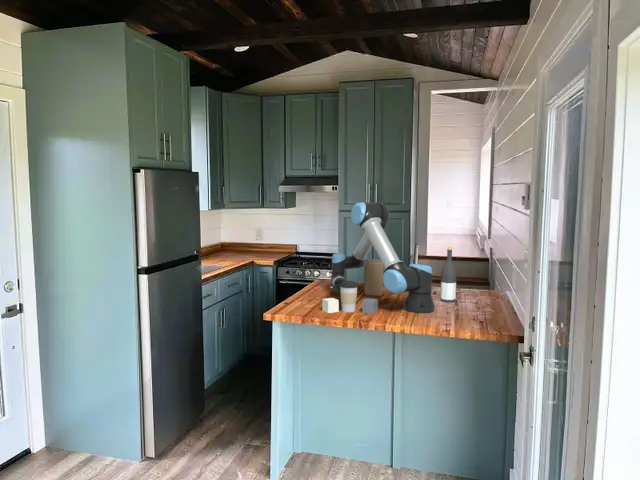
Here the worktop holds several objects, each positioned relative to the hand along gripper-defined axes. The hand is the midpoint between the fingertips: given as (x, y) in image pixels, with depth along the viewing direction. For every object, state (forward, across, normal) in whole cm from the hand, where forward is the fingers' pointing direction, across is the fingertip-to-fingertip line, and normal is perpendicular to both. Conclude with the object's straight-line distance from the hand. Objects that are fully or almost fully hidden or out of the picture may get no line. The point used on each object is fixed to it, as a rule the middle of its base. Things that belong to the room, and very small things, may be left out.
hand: (346, 293), depth 248 cm
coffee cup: (+7, 0, -7) cm, 10 cm away
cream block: (+8, +9, -7) cm, 14 cm away
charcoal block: (+10, -11, -7) cm, 16 cm away
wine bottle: (-10, -58, -7) cm, 59 cm away
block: (-29, -20, -7) cm, 36 cm away
